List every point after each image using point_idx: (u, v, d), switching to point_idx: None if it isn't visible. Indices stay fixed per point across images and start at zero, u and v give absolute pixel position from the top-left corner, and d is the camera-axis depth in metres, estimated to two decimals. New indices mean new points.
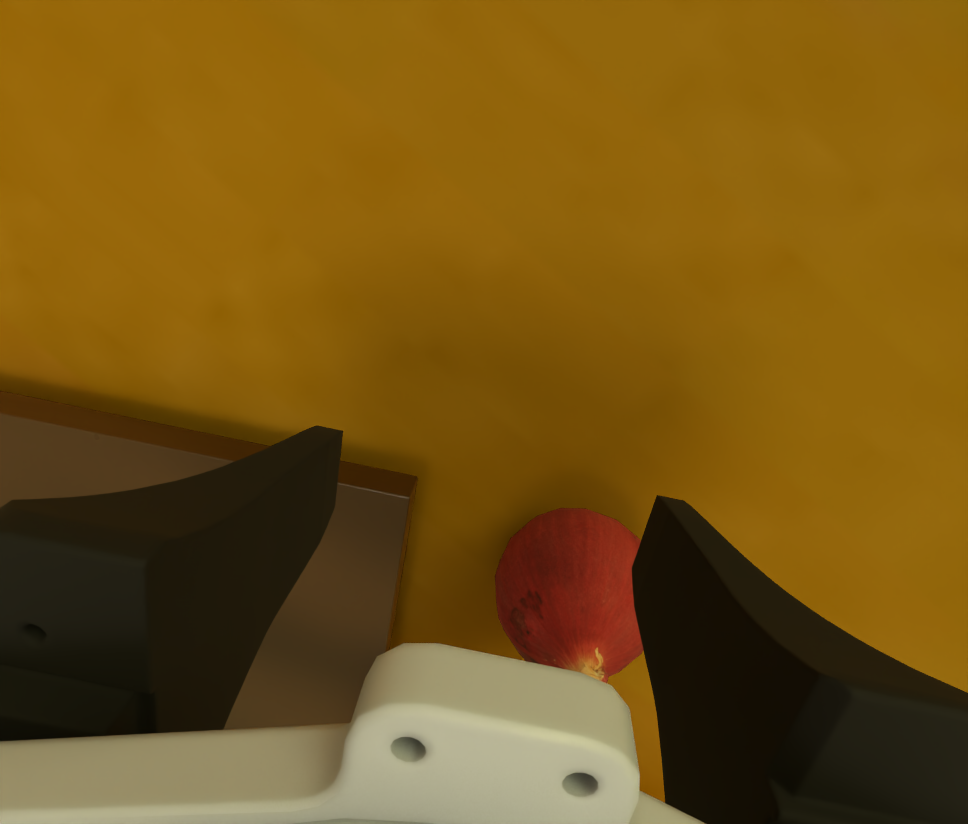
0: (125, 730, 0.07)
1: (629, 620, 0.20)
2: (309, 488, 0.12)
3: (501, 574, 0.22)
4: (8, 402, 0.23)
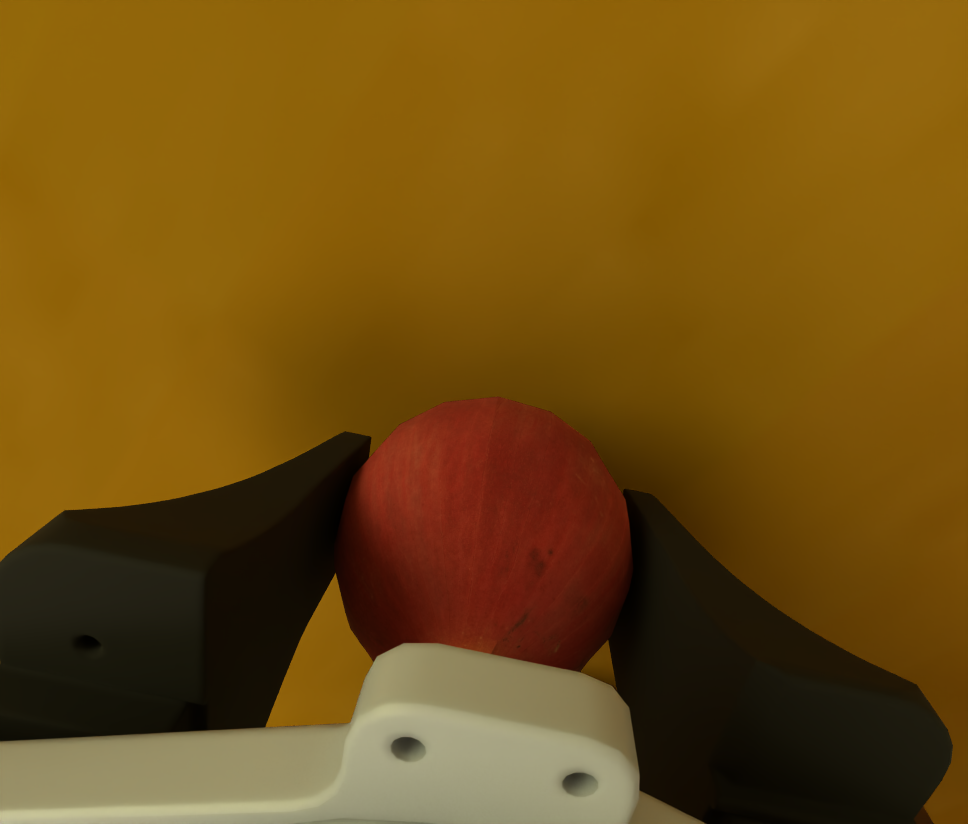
0: None
1: (413, 553, 0.10)
2: (341, 495, 0.12)
3: None
4: None
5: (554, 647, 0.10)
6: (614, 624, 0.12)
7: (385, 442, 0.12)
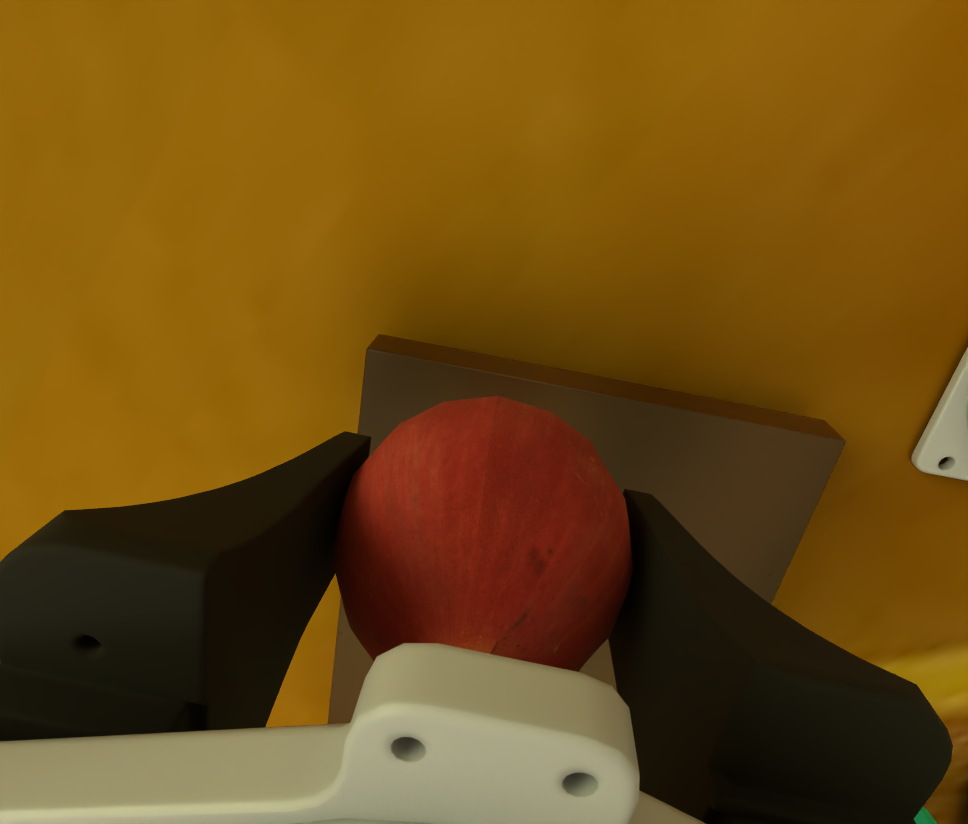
0: None
1: (412, 553, 0.10)
2: (341, 495, 0.12)
3: None
4: None
5: (553, 646, 0.10)
6: (614, 623, 0.12)
7: (384, 441, 0.12)
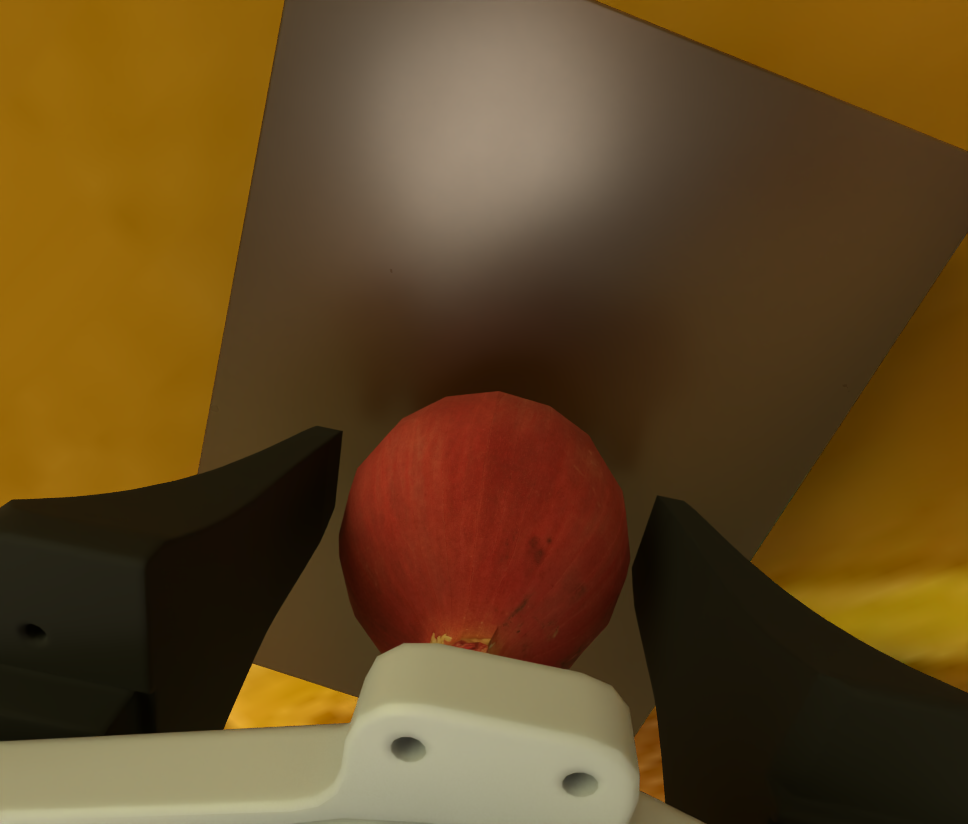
0: (125, 730, 0.07)
1: (416, 541, 0.10)
2: (309, 488, 0.12)
3: None
4: None
5: (553, 633, 0.10)
6: (611, 612, 0.12)
7: (388, 435, 0.12)
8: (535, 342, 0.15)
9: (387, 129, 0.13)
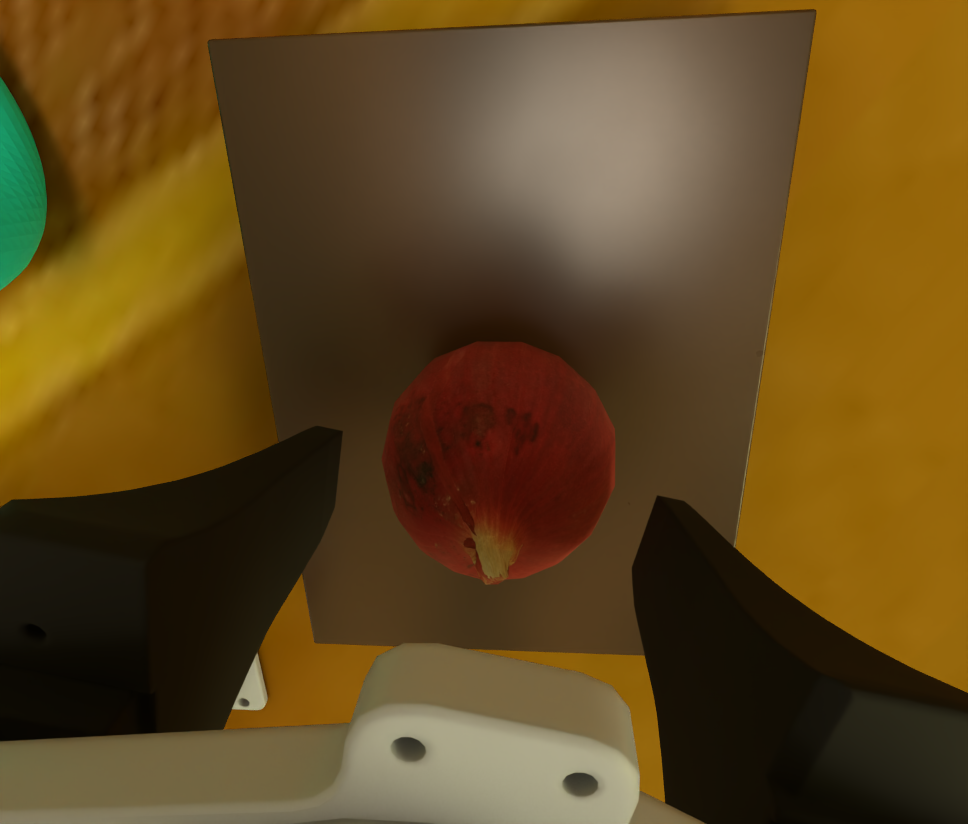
0: (125, 730, 0.07)
1: (555, 555, 0.14)
2: (309, 488, 0.12)
3: (495, 358, 0.14)
4: None
5: (437, 546, 0.14)
6: (388, 485, 0.15)
7: None
8: None
9: None
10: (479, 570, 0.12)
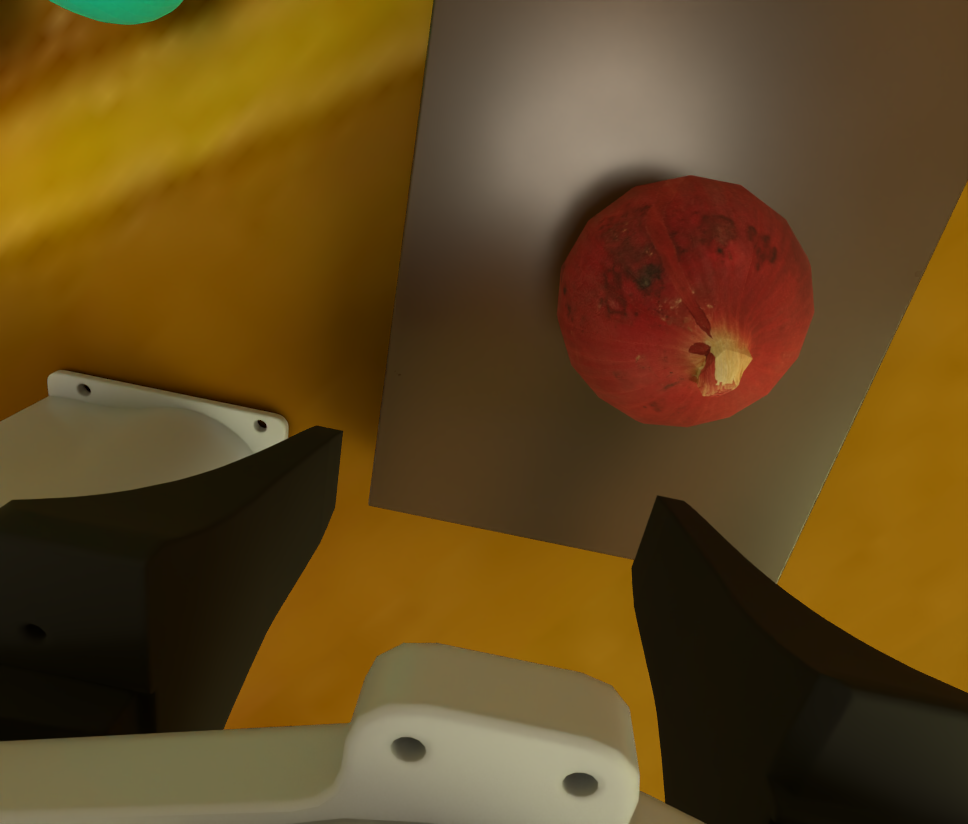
0: (125, 730, 0.07)
1: (746, 397, 0.13)
2: (309, 488, 0.12)
3: (722, 185, 0.14)
4: None
5: (639, 359, 0.13)
6: (573, 301, 0.14)
7: None
8: None
9: (737, 490, 0.21)
10: (709, 375, 0.12)
